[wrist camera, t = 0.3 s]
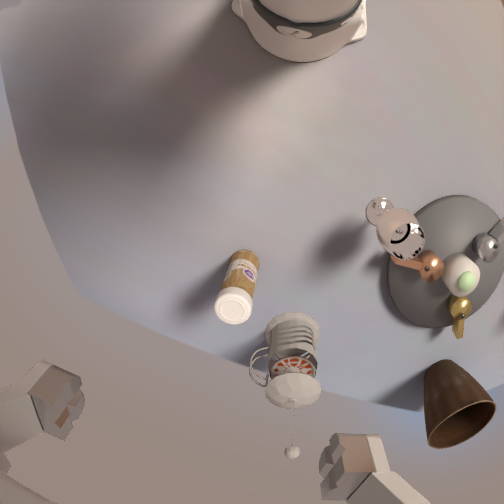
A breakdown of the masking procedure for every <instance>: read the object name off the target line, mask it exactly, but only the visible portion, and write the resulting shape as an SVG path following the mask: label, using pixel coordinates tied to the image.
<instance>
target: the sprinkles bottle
mask: <svg viewBox="0 0 504 504" xmlns="http://www.w3.org/2000/svg"><path fill="white" fill-rule="evenodd" d="M258 268H259V260H258V258H257V256H256V255H255V254H254V253H253V252H251V251H247V250H241V251H238V252H236V253H235V254H234V255H233V256H232V258H231V261H230V265H229V267H228V270H227V273H226V276H225V278H224V281H223V284H222V288H221V291H220V292H219V293H218V295H217V297H216V300H215V304H214V310H215V313H216V315H217V317H218V318H219V319H220V320H222V321H223V322H225V323H228V324H233V325H235V324H241V323H243V322H245V321H246V320H247V319H248V318H249V317H250V314H251V311H252V305H253V303H252V297H253V293H254V288H255V284H256V279H257V271H258Z"/></svg>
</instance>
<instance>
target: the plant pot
mask: <svg viewBox="0 0 504 504" xmlns="http://www.w3.org/2000/svg"><path fill="white" fill-rule="evenodd" d="M495 412H496V404H495V403H494V401H493V400H492V398H491V397H490V396H489V394H488V393H487V392H486V391H485V390H484V388H483V387H482V386H481V385H480V384H479V383H478V382H477V381H476V380H475V379H474V378H473V377H472V376H471V375H470V374H469V373H468V372H467V371H465V370H464V369H463V368H461V367H460V366H459V365H457V364H456V363H454V362H453V361H451V360H442V361H439V362H437V363H435V364H434V365H432V366H431V367H430V368H429V369H428V371H427V372H426V374H425V380H424V413H425V424H426V432H427V440H428V444H429V446H430V447H432V448H436V449H443V448H448V447H452V446H455V445H458V444H460V443H462V442H464V441H466V440H468V439H470V438H471V437H473V436H474V435H476V434H477V433H479V432H480V431H481V430H482V429H483V428H484V427H485V426H486V425H487V424H488V423H489V422H490V421H491V419H492V418H493V416H494V414H495Z"/></svg>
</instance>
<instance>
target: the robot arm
mask: <svg viewBox="0 0 504 504" xmlns="http://www.w3.org/2000/svg"><path fill="white" fill-rule="evenodd" d="M232 10H233V12H234V13H235V14H236V15H237V16H239V17H240V18H241V19H242V20H244V21H245V22H246V24H247V26H248V28H249V30H250V32H251V34H252V36H253V37H254V39H255V40H256V41H257V42H258V43H259V45H261V46H262V47H263V48H264V49H265V50H267V51H268V52H270V53H271V54H273V55H275V56H277V57H280V58H282V59H286V60H290V61H296V62H310V61H316V60H320V59H323V58H326V57H328V56H330V55H332V54H333V53H335V52H336V51H338V50H339V49H340V48H341V47H342V46H344V45H345V44H347V43H351V42H356V41H359V40H361V39H363V38H364V37H365V35H366V33H367V26H366V6H365V0H233V2H232ZM81 385H82V383H81V378H80V377H79V376H77V375H75V374H72V373H71V372H68V371H66V370H64V369H62V368H59V367H57V366H55V365H52V364H50V363H48V362H46V361H44V360H41V361H38V362H37V363H36V364H35V365H34V366H33V367H32V369H31V370H30V371H29V372H28V373H27V374H26V375H25V376H24V377H23V378H22V379H21V380H20V382H19V383H18V384H17V385H16V386H13V385H10V386H6V387H3V388H0V504H57V503H55V502H53V501H51V500H49V499H47V498H45V497H43V496H41V495H40V494H38V493H36V492H34V491H33V490H31V489H29V488H27V487H26V486H24V485H22V484H21V483H19V482H18V481H16V480H14V479H13V478H11V477H10V476H8V475H7V473H8V471H9V469H10V467H11V464H10V462H9V460H8V459H7V457H6V455H5V454H4V452H6V451H8V450H10V449H12V448H14V447H16V446H18V445H20V444H22V443H24V442H26V441H28V440H30V439H32V438H34V437H36V436H38V435H40V434H41V433H43V431H44V432H46V433H48V434H50V435H53V436H55V437H57V438H59V439H61V440H64V441H65V439H66V437H67V436H68V434H69V432H70V431H71V430H72V428H73V426H72V421H74V420H76V419H78V418H79V416H80V415H81V413H82V411H83V407H84V400H85V399H84V394H83V392H82V391H81V390H80V387H81ZM319 473H320V474H321V476H323V478H324V480H323V481H322V483H321V484H320V485H321V494H322V500H347V501H346V502H347V503H348V504H431V503H430V502H429V501H427V500H426V499H425V498H424V497H423V496H422V495H421V494H419V493H418V492H417V491H416V490H415V489H414V488H412V487H411V486H410V485H409V484H408V483H407V482H406V481H404V480H403V479H402V478H401V477H400V476H399V475H398V474H397V473H395V472H391V471H390V468H389V464H388V461H387V458H386V454H385V451H384V448H383V445H382V441H381V438H380V436H379V435H376V434H344V433H335V434H333V435H332V437H331V438H330V445H329V446H327V447H325V448H324V450H323V452H322V453H321V457H320V460H319Z"/></svg>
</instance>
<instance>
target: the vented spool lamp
mask: <svg viewBox="0 0 504 504" xmlns="http://www.w3.org/2000/svg"><path fill="white" fill-rule="evenodd" d="M319 337H320V328H319V327H318V325H317V323H316V321H315V320H314V319H312V318H311V317H309V316H308V315H305V314H302V313H298V312H291V313H284V314H281V315H279V316H276V317H275V318H274V319H272V320H271V321H270V322H269V323H268V325H267V327H266V330H265V338H266V341H267V343H268V344H269V346H268V347H265V348H261V349H259V350H257V351H256V352H258V351H260V350H263V349H268V348H269V350H268V354H265V355H261V356H259V357H257V358H255V359H254V360H253V361H252V359H253V356H254V355H255V354H256V352H254V353H253V355H252V356H251V358H250V369H249V373H250V376H251V378H252V380H253V381H255V382H256V383H257V384H258V385H260V386H262V387H266V388H265V395H266V398H267V399H268V400H269V401H270V403H272V404H274V405H276V406H278V407H282V408H286V409H292V442H291V444H292V445H291V447H287V448H286V449H285V452H284V453H285V455H286V456H287V457H288V458H290V459H291V458H296V457H297V456H298V455H299V454H300V449H299V448H298V447H293V416H294V414H293V413H294V412H293V411H294V409H297V408H302V407H306V406H309V405H310V404H312V403H313V402H315V401H316V400H317V399H318V397H319V395H320V392H321V386H320V385H319V383H318V381H317V380H316V379H315V378H314V377H315V375H316V369H317V356H316V343H317V341H318V339H319ZM306 352H309V353H308V354H306V355H305V356H303V357H301V355H302V354H304V353H306ZM275 354H276V355H277V356H278V357H280V359H278V358H277V357H276V355H275ZM268 355H269V365H268V366H269V372H270V377H271V379H272V380H270V381H269V383H267V382H268V377H269V374H267V377H266V378H264V377H261V376H259V375H258V374H257V373H256V372H255V371H254V370H253V368H252V364H253V363H254V361H255V360H256V359H258V358H260V357H264V356H268ZM309 355H310V357H309V358H308V359H307V358H306V357H307V356H309ZM274 357H275V358H276V360H277V361H275V359H274ZM251 369H252V371H253V372H254V373H255V374H256V375H257V376H258V377H260V378H262V379H265V380H266V384H265V385H262V384H260V383H258V382H257V381H256V380H255V379H254V378H253V376H252V374H251Z"/></svg>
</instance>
